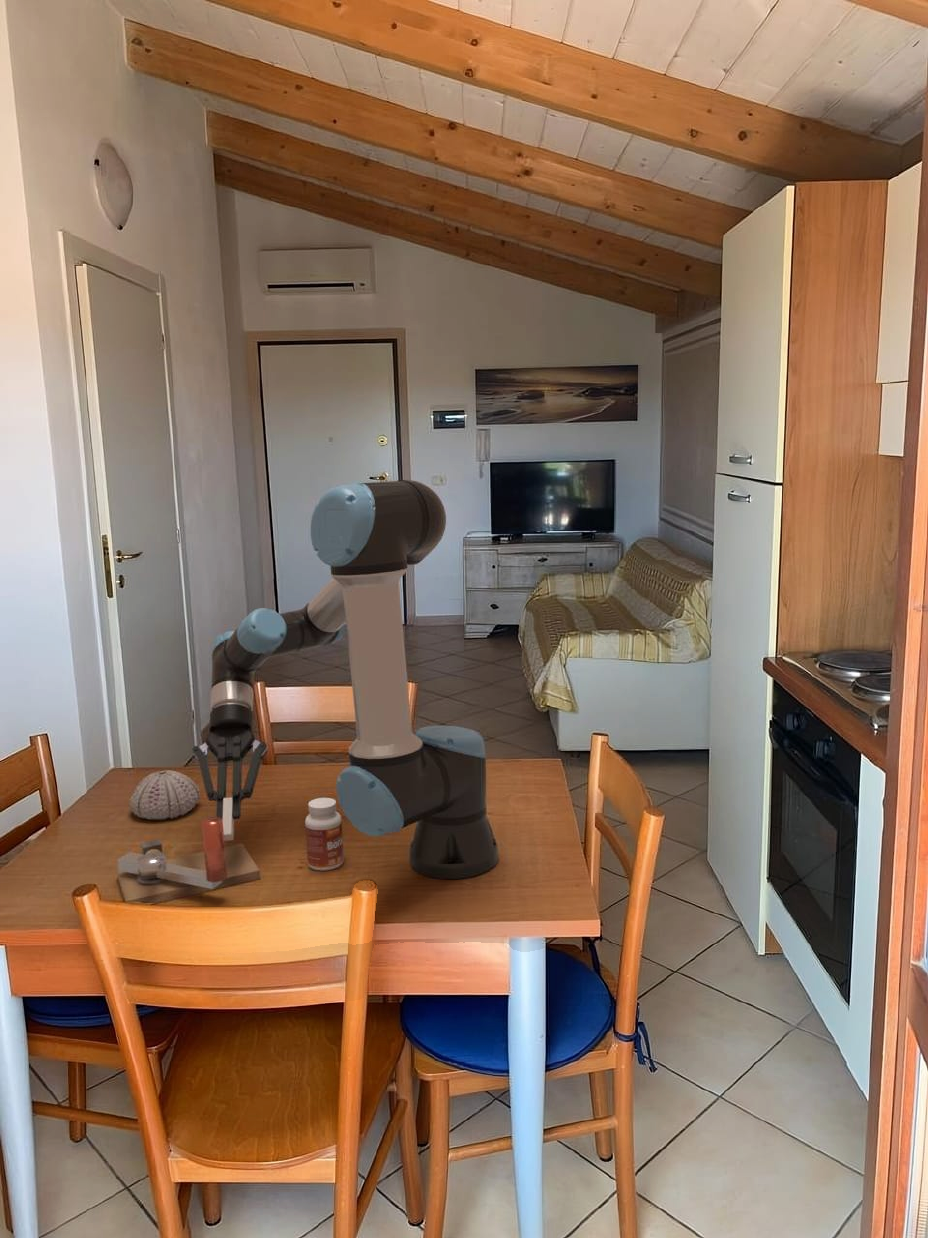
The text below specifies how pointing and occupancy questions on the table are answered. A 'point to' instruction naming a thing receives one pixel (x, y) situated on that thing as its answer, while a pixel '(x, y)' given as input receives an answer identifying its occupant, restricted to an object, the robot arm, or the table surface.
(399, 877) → the table surface
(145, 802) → the sea urchin shell
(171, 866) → the lever
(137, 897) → the cracker base
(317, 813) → the pill bottle
